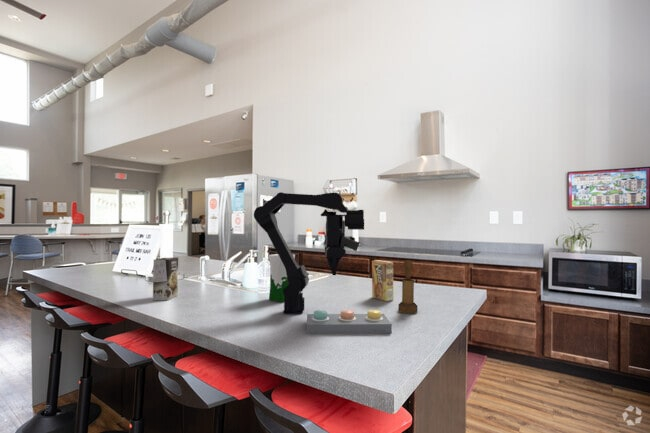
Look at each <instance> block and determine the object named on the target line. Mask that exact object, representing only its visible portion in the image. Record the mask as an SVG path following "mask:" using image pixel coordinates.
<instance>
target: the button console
mask: <svg viewBox="0 0 650 433" xmlns="http://www.w3.org/2000/svg"><path fill="white" fill-rule="evenodd" d="M305 324H306V331H305V332H306V334H392V329H393V328H392V327H393V326H392V323H391V322H390V320H389V319H388V317H387V316H386V314H385V313H381V318H380V319H370V318H368V317H367V313H354V318H353V319H342V318H341V313H327V318H326V319H315V318H314V313H307V314H306V323H305Z"/></svg>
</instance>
